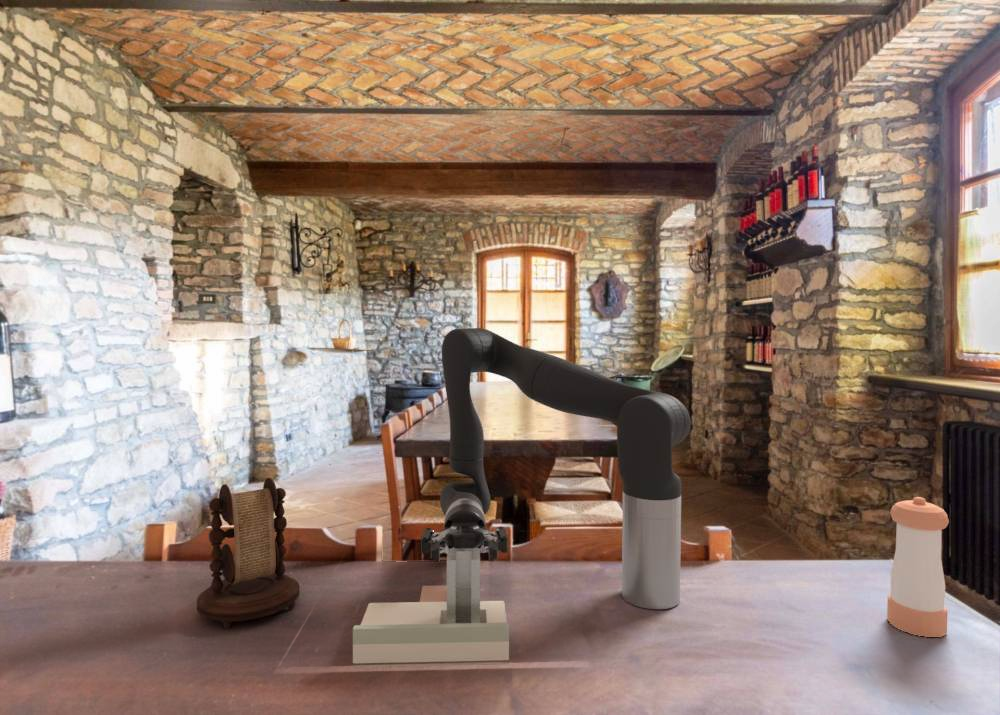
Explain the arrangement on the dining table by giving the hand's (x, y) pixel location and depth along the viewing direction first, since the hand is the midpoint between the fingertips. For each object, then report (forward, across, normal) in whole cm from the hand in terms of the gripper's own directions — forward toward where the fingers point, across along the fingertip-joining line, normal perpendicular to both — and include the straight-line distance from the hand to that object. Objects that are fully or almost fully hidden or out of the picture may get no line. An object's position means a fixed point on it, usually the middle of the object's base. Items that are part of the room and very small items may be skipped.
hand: (464, 556), depth 92 cm
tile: (-4, -3, +8) cm, 10 cm away
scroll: (-2, -33, +9) cm, 35 cm away
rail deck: (+10, -4, +8) cm, 14 cm away
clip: (+10, 0, +8) cm, 13 cm away
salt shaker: (+8, +67, +9) cm, 68 cm away
